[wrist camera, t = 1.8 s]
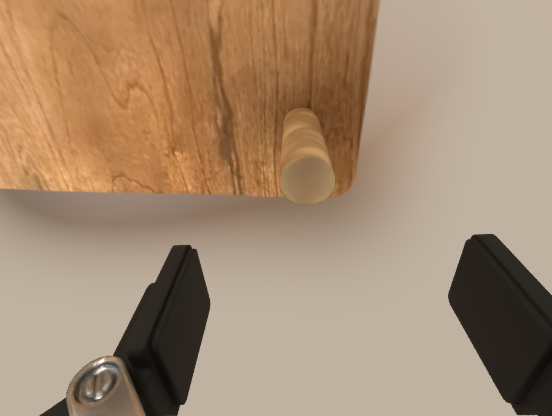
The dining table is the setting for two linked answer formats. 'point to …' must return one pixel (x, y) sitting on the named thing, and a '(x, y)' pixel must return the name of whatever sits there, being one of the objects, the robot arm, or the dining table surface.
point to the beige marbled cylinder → (305, 159)
